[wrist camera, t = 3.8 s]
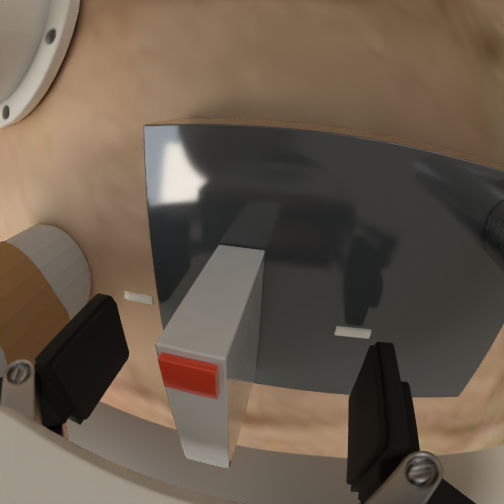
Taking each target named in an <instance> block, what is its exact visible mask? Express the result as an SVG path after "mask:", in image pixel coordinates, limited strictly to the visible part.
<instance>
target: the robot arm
mask: <svg viewBox="0 0 504 504" xmlns="http://www.w3.org/2000/svg"><path fill="white" fill-rule="evenodd" d="M79 5H80V0H0V128H3V127H6V126H9V125H12V124H16V123H17V122H19V121H20V120H22V119H23V118H25V117H26V116H27V115H28V114H29V113H30V112H31V111H32V110H33V109H34V108H35V107H36V106H37V104H38V103H39V102H40V100H41V99H42V97H43V96H44V95H45V93H46V92H47V90H48V88H49V87H50V85H51V83H52V81H53V80H54V78H55V76H56V74H57V72H58V70H59V68H60V65H61V63H62V61H63V59H64V57H65V55H66V52H67V49H68V46H69V43H70V41H71V38H72V35H73V32H74V28H75V24H76V20H77V16H78V13H79ZM128 357H129V350H128V346H127V343H126V339H125V335H124V331H123V328H122V324H121V320H120V316H119V312H118V307H117V304H116V302H115V301H114V299H113V298H112V297H111V296H108V295H104V294H100V293H99V294H96V295H95V296H94V297H93V298H92V299H91V300H90V301H89V302H88V303H87V304H86V305H85V306H84V307H83V308H82V309H81V310H80V311H79V312H78V313H77V314H76V315H75V316H74V317H73V318H72V319H71V320H70V321H69V322H68V323H67V324H66V326H65V327H64V328H63V329H62V330H61V331H60V332H59V333H58V334H57V335H56V336H55V337H54V338H53V339H52V340H51V341H50V342H49V344H48V345H47V346H46V347H45V348H44V349H43V350H42V351H41V352H40V353H39V354H38V356H37V357H36V358H35V359H34V360H35V362H36V363H35V365H33V364H32V362H30V361H29V360H26V359H19V360H16V361H14V362H12V363H10V364H9V365H8V366H7V367H6V369H5V371H4V374H3V377H0V504H244V503H239V502H234V501H229V500H225V499H221V498H217V497H213V496H209V495H205V494H201V493H197V492H194V491H191V490H187V489H184V488H180V487H177V486H174V485H171V484H168V483H165V482H162V481H159V480H156V479H154V478H151V477H148V476H145V475H142V474H140V473H138V472H135V471H132V470H130V469H128V468H125V467H123V466H121V465H118V464H116V463H114V462H111V461H109V460H107V459H105V458H102V457H100V456H98V455H96V454H94V453H92V452H90V451H88V450H86V449H84V448H82V447H80V446H78V445H76V444H74V443H73V442H71V441H69V440H68V434H67V426H66V421H67V419H68V418H69V419H70V420H72V421H74V422H76V423H78V424H81V423H82V422H83V420H85V419H87V418H88V417H89V416H90V414H91V413H92V411H93V410H94V408H95V407H96V405H97V404H98V402H99V401H100V399H101V398H102V396H103V395H104V393H105V392H106V390H107V389H108V387H109V386H110V384H111V383H112V381H113V380H114V378H115V377H116V375H117V374H118V372H119V371H120V370H121V368H122V367H123V365H124V364H125V362H126V361H127V359H128ZM347 461H348V462H347V484H351V492H359V496H358V499H359V500H360V501H361V502H360V503H359V504H476V503H474V502H473V501H472V500H470V499H469V498H468V497H466V496H465V495H463V494H462V493H461V492H460V491H458V490H457V489H455V488H454V487H453V486H452V485H450V484H449V483H448V482H446V481H445V480H444V479H443V478H442V477H443V467H442V463H441V462H440V460H439V458H438V457H436V456H435V455H434V454H432V453H430V452H428V451H420V448H419V440H418V433H417V426H416V419H415V413H414V407H413V401H412V395H411V390H410V386H409V383H408V382H406V381H401V379H400V373H399V368H398V362H397V357H396V352H395V347H394V344H393V343H388V342H376V343H375V346H374V345H370V347H369V349H368V352H367V354H366V357H365V359H364V362H363V365H362V367H361V369H360V372H359V374H358V377H357V379H356V382H355V384H354V386H353V389H352V391H351V393H350V397H349V420H348V460H347Z"/></svg>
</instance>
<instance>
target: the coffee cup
mask: <svg viewBox="0 0 504 504" xmlns="http://www.w3.org/2000/svg"><path fill="white" fill-rule="evenodd" d="M91 286H92V281H91V273H90V269H89V266H88V263H87V261H86V259H85V256H84V254H83V252H82V251H81V249H80V248H79V246H78V245H77V243H76V242H75V241H74V240H73V239H72V238H71V237H70V236H69V235H68V234H67V233H66V232H64V231H63V230H61V229H60V228H58V227H55V226H53V225H35V226H33V227H30V228H28V229H26V230H25V231H23V232H21V233H19V234H17V235H15V236H13V237H11V238H9V239H7V240H6V241H4V242H3V241H2V242H0V377H3V374H4V371H5V369H6V367H7V366H8V365H9V364H10V363H12V362H14V361H16V360H19V359H26V360H29V361H30V362H32V364H33V365H35V363H36V362H35V360H34V359H35V358H36V357H37V356H38V354H39V353H40V352H41V351H42V350H43V349H44V348H45V347H46V346H47V345H48V344H49V342H50V341H51V340H52V339H53V338H54V337H55V336H56V335H57V334H58V333H59V332H60V331H61V330H62V329H63V328H64V327H65V326H66V324H67V323H68V322H69V321H70V320H71V319H72V318H73V317H74V316H75V315H76V314H77V313H78V312H79V311H80V310H81V309H82V308H83V307H84V306H85V304H86V303H87V301H88V298H89V293H90V290H91Z"/></svg>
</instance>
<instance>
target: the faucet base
mask: <svg viewBox="0 0 504 504" xmlns="http://www.w3.org/2000/svg"><path fill="white" fill-rule="evenodd" d="M144 156H145V177H146V193H147V206H148V218H149V229H150V239H151V248H152V257H153V265H154V273H155V280H156V288H157V295H158V301H159V308H160V314H161V320H162V326H163V330H164V329H165V327H166V326H167V324H168V322H169V321H170V319H171V318H172V316H173V315H174V313H175V311H176V310H177V308H178V307H179V305H180V304H181V302H182V300H183V299H184V297H185V296H186V294H187V293H188V291H189V290H190V288H191V287H192V285H193V283H194V282H195V280H196V279H197V277H198V276H199V274H200V273H201V271H202V270H203V268H204V267H205V265H206V264H207V262H208V261H209V259H210V258H211V256H212V255H213V253H214V252H215V250H216V249H217V247H218V246H219V245H226V246H234V247H242V248H250V249H257V250H264V251H265V259H264V273H263V287H262V300H261V314H260V327H259V340H258V352H257V365H256V373H255V377H254V381H253V383H258V384H264V385H270V386H277V387H284V388H291V389H298V390H306V391H315V392H325V393H335V394H347V395H350V393H351V391H352V389H353V386H354V384H355V382H356V379H357V377H358V374H359V372H360V369H361V367H362V365H363V362H364V359H365V357H366V354H367V352H368V349H369V347H370V345H374V346H375V343H376V342H388V343H393V344H394V347H395V352H396V357H397V362H398V368H399V373H400V379H401V381H406V382H408V383H409V386H410V390H411V395H412V397H458V396H459V395H460V394H461V392H462V391H463V389H464V388H465V387H466V385H467V384H468V382H469V381H470V379H471V378H472V376H473V375H474V373H475V372H476V370H477V369H478V367H479V365H480V364H481V362H482V361H483V359H484V357H485V356H486V354H487V352H488V351H489V349H490V347H491V346H492V344H493V342H494V340H495V339H496V337H497V335H498V333H499V331H500V329H501V328H502V326H503V324H504V273H503V272H502V270H501V269H500V268H499V267H498V266H497V264H496V263H495V262H494V261H493V260H492V259H491V257H490V256H489V255H488V254H487V252H486V250H485V248H484V243H483V230H484V226H485V223H486V220H487V218H488V216H489V214H490V213H491V211H492V210H493V209H494V208H495V207H496V206H497V205H498V204H499V203H501V202H502V201H504V166H503V165H500V164H497V163H494V162H491V161H488V160H485V159H482V158H479V157H475V156H472V155H468V154H465V153H461V152H458V151H454V150H450V149H447V148H443V147H439V146H435V145H431V144H426V143H422V142H418V141H413V140H408V139H404V138H399V137H394V136H389V135H383V134H378V133H372V132H366V131H360V130H354V129H347V128H340V127H333V126H325V125H316V124H307V123H297V122H286V121H273V120H258V119H236V118H181V119H175V120H169V121H163V122H157V123H152V124H147V125H144ZM124 297H125V299H126V300H130V301H135V302H139V303H144V304H148V305H153V304H154V300H153V297H152V296H147V295H143V294H138V293H133V292H128V291H125V292H124Z"/></svg>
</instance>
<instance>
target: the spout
mask: <svg viewBox="0 0 504 504" xmlns="http://www.w3.org/2000/svg"><path fill="white" fill-rule="evenodd" d="M483 243H484V248H485V250H486V252H487V254H488V255H489V256H490V257H491V259H492V260H493V261H494V262H495V263H496V264H497V266H498V267H499V268H500V269H501V270H502V272H503V273H504V201H502V202H501V203H499V204H498V205H497V206H496V207H495V208H494V209H493V210H492V211H491V213H490V214H489V216H488V218H487V220H486V223H485V226H484V230H483Z"/></svg>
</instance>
